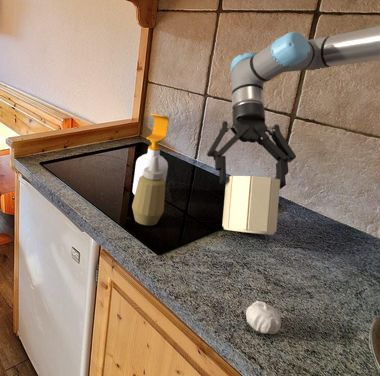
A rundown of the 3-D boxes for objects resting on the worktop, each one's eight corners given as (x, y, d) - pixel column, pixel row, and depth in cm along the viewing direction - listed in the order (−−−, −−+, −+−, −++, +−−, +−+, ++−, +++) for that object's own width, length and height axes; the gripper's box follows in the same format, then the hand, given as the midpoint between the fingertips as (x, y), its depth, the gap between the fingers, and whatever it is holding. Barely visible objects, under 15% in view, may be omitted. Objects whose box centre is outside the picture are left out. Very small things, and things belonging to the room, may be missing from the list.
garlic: (235, 320, 74) (241, 297, 72) (257, 312, 76) (264, 290, 74) (262, 343, 69) (270, 320, 67) (285, 335, 71) (293, 312, 69)
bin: (282, 235, 92) (287, 178, 92) (232, 231, 93) (236, 174, 93) (262, 232, 103) (266, 181, 103) (217, 227, 104) (221, 177, 104)
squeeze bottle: (137, 210, 112) (146, 148, 104) (166, 219, 107) (177, 155, 100) (125, 221, 106) (133, 157, 98) (154, 231, 101) (165, 165, 94)
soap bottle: (127, 195, 120) (137, 114, 110) (139, 185, 127) (150, 107, 116) (156, 203, 116) (169, 119, 105) (167, 192, 122) (180, 112, 112)
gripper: (292, 119, 107) (299, 194, 100) (194, 113, 110) (195, 185, 103) (306, 103, 100) (315, 183, 93) (202, 98, 103) (203, 174, 96)
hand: (252, 184), depth 98 cm, fingers open, 13 cm apart
